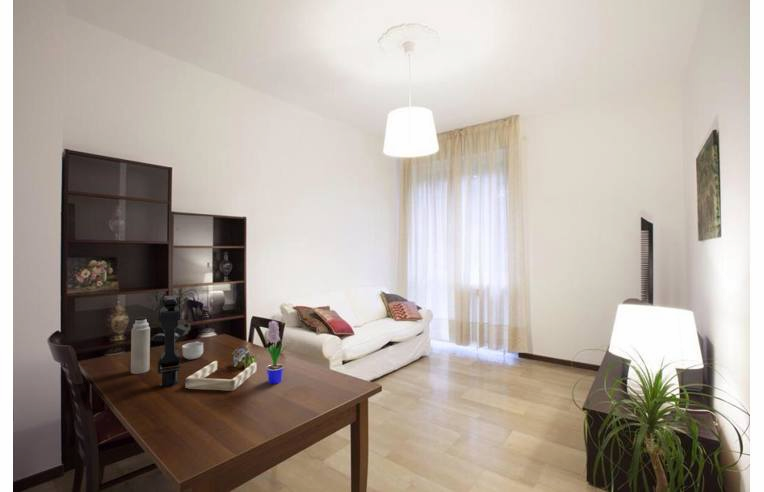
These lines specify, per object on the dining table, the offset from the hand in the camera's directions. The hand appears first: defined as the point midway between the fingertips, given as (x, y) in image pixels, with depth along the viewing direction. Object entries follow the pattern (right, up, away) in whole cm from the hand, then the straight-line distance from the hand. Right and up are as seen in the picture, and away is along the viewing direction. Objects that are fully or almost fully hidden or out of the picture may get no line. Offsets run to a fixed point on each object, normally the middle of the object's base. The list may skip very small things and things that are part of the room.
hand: (171, 350), depth 174 cm
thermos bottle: (-18, -12, +3) cm, 22 cm away
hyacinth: (+56, -13, -8) cm, 58 cm away
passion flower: (+32, -13, +13) cm, 37 cm away
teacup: (-3, -12, +26) cm, 29 cm away
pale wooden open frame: (+29, -13, -6) cm, 33 cm away
